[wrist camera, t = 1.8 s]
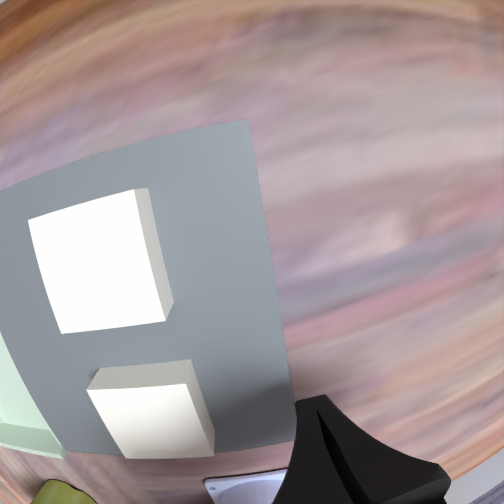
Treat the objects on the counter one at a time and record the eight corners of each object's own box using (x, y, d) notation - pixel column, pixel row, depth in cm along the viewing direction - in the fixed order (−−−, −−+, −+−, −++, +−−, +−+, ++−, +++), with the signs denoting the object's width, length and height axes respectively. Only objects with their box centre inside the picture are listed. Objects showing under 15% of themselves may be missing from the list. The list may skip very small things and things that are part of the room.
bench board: (291, 413, 18) (298, 439, 16) (76, 429, 18) (65, 450, 15) (245, 129, 14) (247, 119, 12) (-9, 203, 14) (-34, 207, 11)
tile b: (174, 301, 13) (165, 320, 11) (79, 315, 13) (61, 333, 11) (148, 188, 12) (133, 189, 10) (51, 214, 12) (27, 220, 10)
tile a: (214, 430, 15) (214, 455, 13) (133, 435, 15) (125, 458, 13) (190, 359, 14) (185, 383, 12) (99, 368, 14) (86, 389, 12)
